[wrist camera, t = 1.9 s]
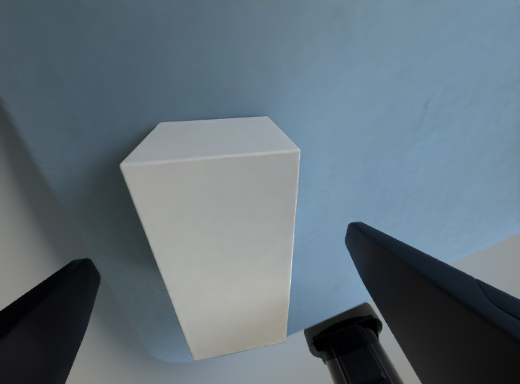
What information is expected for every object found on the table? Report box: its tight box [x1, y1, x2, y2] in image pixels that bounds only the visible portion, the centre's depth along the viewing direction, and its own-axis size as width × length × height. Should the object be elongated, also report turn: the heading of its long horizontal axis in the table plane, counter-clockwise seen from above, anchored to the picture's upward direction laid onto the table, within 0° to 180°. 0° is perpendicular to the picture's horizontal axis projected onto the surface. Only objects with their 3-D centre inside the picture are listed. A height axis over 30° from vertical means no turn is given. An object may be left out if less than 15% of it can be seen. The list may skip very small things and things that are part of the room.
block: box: [120, 116, 301, 361], centre depth 8 cm, size 8×4×4 cm, turn 1°
